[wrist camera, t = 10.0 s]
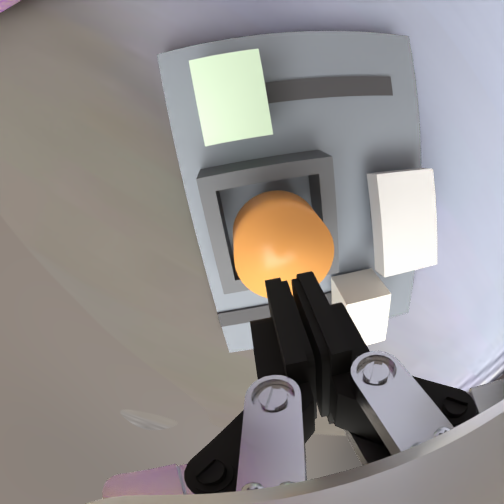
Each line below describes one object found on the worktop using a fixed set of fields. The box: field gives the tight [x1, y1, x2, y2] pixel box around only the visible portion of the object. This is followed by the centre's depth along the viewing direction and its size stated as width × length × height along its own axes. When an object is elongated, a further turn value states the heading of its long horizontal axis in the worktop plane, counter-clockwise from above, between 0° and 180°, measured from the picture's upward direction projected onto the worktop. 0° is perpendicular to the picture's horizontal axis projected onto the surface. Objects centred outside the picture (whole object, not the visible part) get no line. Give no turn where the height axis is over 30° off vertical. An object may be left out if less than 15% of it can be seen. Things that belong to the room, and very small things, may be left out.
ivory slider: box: [331, 268, 391, 345], centre depth 20 cm, size 3×4×3 cm
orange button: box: [233, 190, 334, 298], centre depth 14 cm, size 4×4×3 cm
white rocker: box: [367, 168, 437, 277], centre depth 17 cm, size 4×6×1 cm, turn 9°
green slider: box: [189, 49, 273, 146], centre depth 13 cm, size 3×4×3 cm
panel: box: [157, 31, 421, 352], centre depth 18 cm, size 15×21×4 cm
